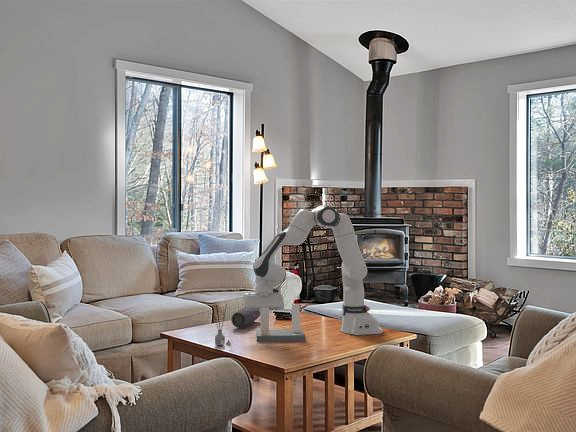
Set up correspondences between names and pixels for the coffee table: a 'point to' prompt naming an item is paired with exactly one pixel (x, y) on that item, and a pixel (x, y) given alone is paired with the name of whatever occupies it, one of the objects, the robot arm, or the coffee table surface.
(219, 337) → the reed diffuser
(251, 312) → the bluetooth speaker
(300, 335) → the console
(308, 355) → the coffee table surface
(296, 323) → the lever
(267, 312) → the lever
